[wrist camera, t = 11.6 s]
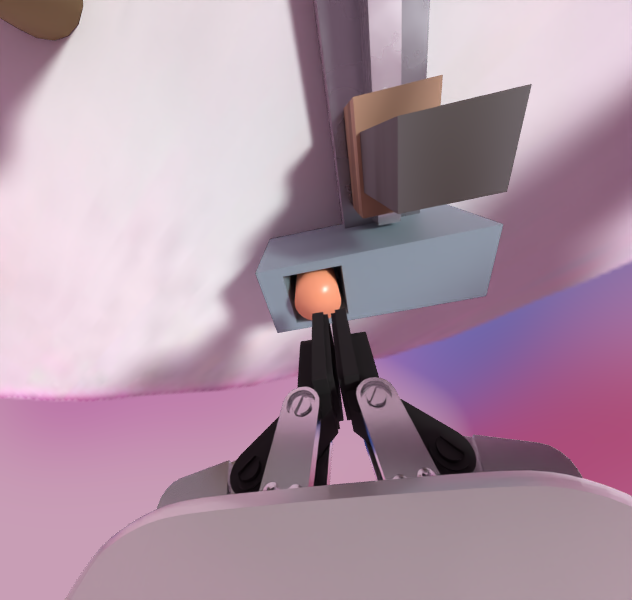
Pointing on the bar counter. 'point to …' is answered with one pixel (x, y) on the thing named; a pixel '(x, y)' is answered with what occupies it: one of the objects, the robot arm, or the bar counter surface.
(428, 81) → the carriage
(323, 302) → the button
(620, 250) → the bar counter surface
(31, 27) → the cork
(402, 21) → the rail
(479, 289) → the cabinet
